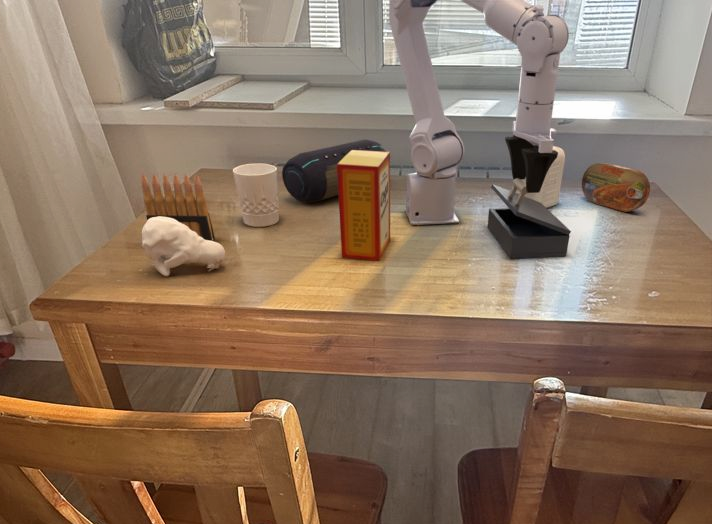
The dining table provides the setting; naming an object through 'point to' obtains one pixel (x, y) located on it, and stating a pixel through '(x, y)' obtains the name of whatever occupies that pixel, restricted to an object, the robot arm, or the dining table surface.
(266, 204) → the white cup
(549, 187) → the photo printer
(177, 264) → the white figurine
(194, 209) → the ammunition clip
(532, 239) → the flip case
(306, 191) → the portable speaker
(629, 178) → the tin
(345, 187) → the baking soda box
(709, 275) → the dining table surface
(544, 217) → the cover
